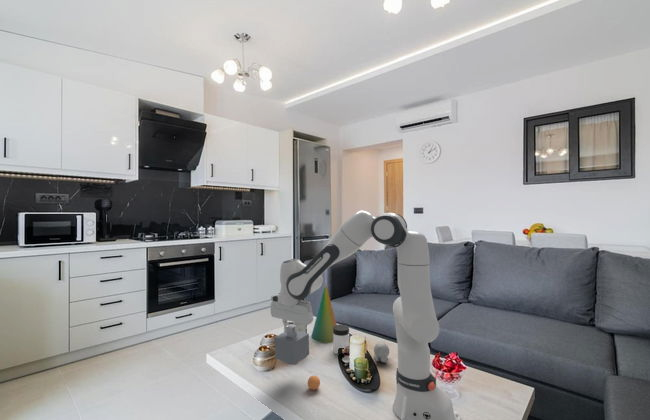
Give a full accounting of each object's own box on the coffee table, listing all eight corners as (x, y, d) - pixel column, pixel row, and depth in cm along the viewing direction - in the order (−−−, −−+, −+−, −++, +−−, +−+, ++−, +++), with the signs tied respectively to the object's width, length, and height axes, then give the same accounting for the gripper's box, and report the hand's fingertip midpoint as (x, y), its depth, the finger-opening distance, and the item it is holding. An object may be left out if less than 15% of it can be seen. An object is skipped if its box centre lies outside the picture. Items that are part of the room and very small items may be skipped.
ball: (316, 370, 124) (309, 378, 126) (309, 376, 120) (303, 384, 121) (324, 381, 122) (317, 388, 124) (318, 386, 118) (311, 394, 119)
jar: (338, 356, 148) (338, 332, 148) (329, 350, 155) (329, 326, 155) (352, 352, 153) (353, 328, 153) (343, 345, 160) (343, 323, 160)
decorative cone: (324, 345, 160) (324, 288, 160) (305, 335, 172) (305, 282, 172) (345, 336, 171) (346, 283, 171) (326, 328, 183) (326, 278, 183)
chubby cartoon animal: (391, 362, 148) (393, 344, 151) (386, 364, 138) (388, 343, 140) (377, 359, 151) (379, 341, 154) (370, 360, 141) (373, 340, 144)
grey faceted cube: (309, 354, 130) (308, 324, 129) (294, 365, 121) (293, 332, 121) (290, 348, 135) (289, 319, 135) (274, 358, 126) (274, 327, 126)
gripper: (315, 299, 125) (316, 333, 125) (277, 292, 136) (278, 323, 136) (306, 303, 119) (307, 338, 120) (267, 296, 130) (268, 328, 130)
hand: (291, 330), depth 128 cm, fingers closed on grey faceted cube, 3 cm apart
